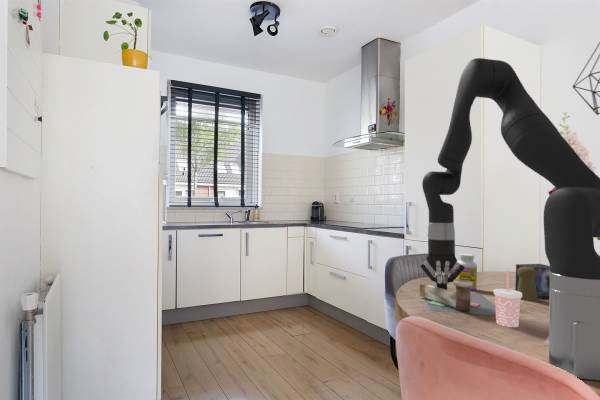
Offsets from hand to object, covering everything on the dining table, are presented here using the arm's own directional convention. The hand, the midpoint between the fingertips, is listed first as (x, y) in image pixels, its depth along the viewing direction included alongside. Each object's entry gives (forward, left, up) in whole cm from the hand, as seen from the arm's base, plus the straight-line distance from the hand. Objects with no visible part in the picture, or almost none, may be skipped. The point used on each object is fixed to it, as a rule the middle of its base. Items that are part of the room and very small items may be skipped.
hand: (441, 295), depth 108 cm
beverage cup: (-19, -12, -3) cm, 22 cm away
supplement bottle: (+20, -12, -3) cm, 24 cm away
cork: (+9, -27, -3) cm, 28 cm away
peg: (-5, 0, -1) cm, 5 cm away
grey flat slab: (0, -5, -3) cm, 5 cm away
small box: (+18, -33, -3) cm, 38 cm away
